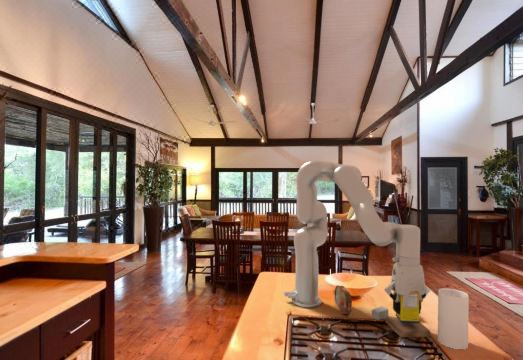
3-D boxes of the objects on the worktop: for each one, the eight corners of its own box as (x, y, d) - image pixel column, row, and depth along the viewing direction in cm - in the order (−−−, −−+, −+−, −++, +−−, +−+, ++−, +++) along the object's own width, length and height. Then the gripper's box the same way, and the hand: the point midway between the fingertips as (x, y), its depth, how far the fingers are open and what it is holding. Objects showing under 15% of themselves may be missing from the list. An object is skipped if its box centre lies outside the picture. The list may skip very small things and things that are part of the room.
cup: (434, 334, 102) (435, 287, 102) (462, 338, 100) (463, 289, 100) (441, 347, 94) (442, 295, 94) (472, 351, 92) (472, 299, 92)
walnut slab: (400, 337, 100) (400, 331, 100) (386, 322, 110) (386, 317, 110) (429, 336, 101) (429, 330, 101) (412, 322, 111) (412, 316, 111)
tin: (333, 302, 129) (334, 282, 129) (341, 301, 129) (341, 282, 129) (344, 318, 114) (345, 295, 114) (353, 318, 114) (353, 295, 114)
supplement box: (412, 316, 108) (412, 285, 108) (419, 324, 102) (419, 291, 102) (395, 315, 109) (395, 284, 109) (401, 323, 103) (401, 290, 103)
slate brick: (378, 320, 112) (378, 312, 112) (371, 317, 115) (371, 309, 115) (388, 316, 115) (388, 309, 115) (381, 313, 118) (381, 306, 118)
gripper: (388, 263, 101) (388, 317, 101) (438, 263, 102) (437, 316, 102) (378, 258, 109) (377, 307, 109) (425, 257, 110) (424, 307, 110)
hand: (406, 311), depth 106 cm, fingers closed on supplement box, 6 cm apart
